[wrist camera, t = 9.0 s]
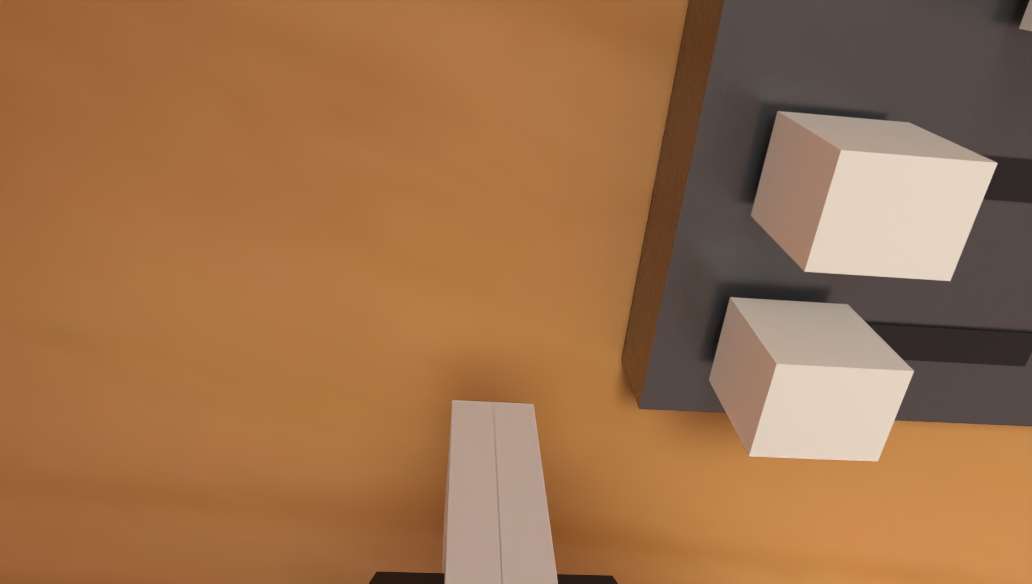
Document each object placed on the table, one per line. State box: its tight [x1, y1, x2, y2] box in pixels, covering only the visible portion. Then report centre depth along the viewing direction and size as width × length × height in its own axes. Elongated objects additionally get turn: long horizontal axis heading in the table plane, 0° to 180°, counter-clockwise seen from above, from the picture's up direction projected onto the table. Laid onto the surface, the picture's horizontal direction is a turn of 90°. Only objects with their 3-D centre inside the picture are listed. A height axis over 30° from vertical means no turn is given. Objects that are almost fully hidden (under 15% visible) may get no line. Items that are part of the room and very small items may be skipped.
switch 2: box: [709, 297, 914, 461], centre depth 17 cm, size 2×3×3 cm
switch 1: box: [751, 111, 998, 281], centre depth 15 cm, size 2×3×3 cm
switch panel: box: [622, 0, 1032, 426], centre depth 18 cm, size 14×18×3 cm
